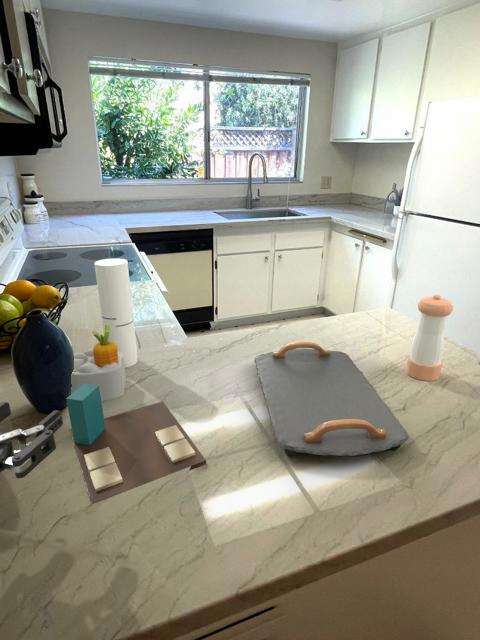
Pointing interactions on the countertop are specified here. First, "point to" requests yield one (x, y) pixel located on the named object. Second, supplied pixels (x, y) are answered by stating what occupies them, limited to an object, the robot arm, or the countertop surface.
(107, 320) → the cylindrical container
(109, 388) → the lumpy-topped squat cylinder
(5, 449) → the robot arm
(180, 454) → the word board
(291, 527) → the countertop surface
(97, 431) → the teal rectangular block
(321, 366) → the serving tray
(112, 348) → the carrot
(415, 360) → the pepper shaker
